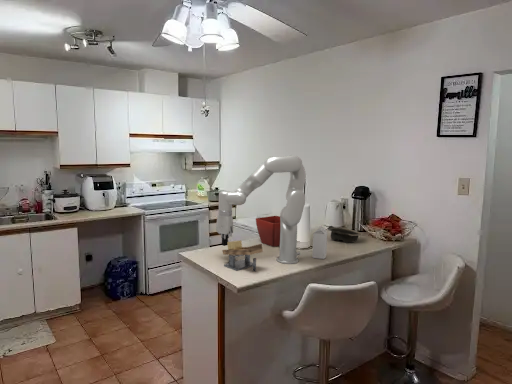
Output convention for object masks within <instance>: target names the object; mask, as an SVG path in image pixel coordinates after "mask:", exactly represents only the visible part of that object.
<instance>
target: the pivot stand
mask: <svg viewBox="0 0 512 384" xmlns="http://www.w3.org/2000/svg"><path fill="white" fill-rule="evenodd" d="M242 256H244V259H240V260H236V258H238V257H242ZM223 267H225V268H228V269H230V270H233V271H236V272H237V271H241V270H246V269H248V268H252V272H256V271H257V258H256V257H253V258H252V261H251V255H228V263H224V264H223Z"/></svg>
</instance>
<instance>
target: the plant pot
mask: <svg viewBox="0 0 512 384" xmlns="http://www.w3.org/2000/svg"><path fill="white" fill-rule="evenodd" d="M255 224H256V228H257V233H258V236H259V237H258V238H259V239H260V240H259V241H260V242H261V244H263V245H267V246H271V248H274V247H280V215H270V216H263V217H258V218H257V217H256V218H255Z"/></svg>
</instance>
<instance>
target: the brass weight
mask: <svg viewBox="0 0 512 384" xmlns="http://www.w3.org/2000/svg"><path fill="white" fill-rule="evenodd" d="M227 244H228V245H227V250H242V247H243V241H242V240H230V241H228V242H227Z"/></svg>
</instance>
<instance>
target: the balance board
mask: <svg viewBox="0 0 512 384" xmlns="http://www.w3.org/2000/svg"><path fill="white" fill-rule="evenodd" d="M262 244H263V243H260V244H255V245H251V246H242V250H228V249H222V255H225V256H229V255H243V256H245V255H250V256H252V255H255V254H260V253H263V252H264V250H263V245H262Z"/></svg>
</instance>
